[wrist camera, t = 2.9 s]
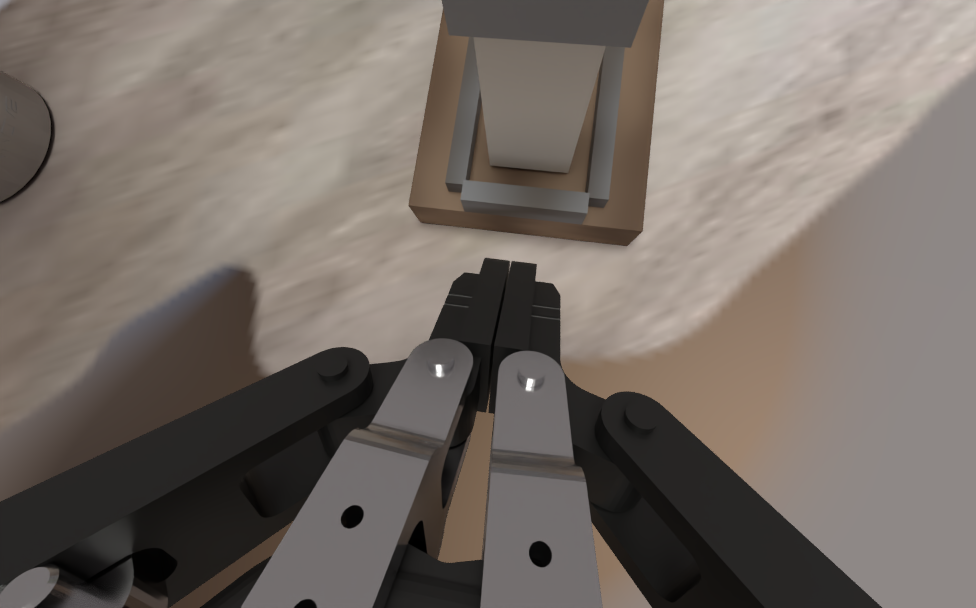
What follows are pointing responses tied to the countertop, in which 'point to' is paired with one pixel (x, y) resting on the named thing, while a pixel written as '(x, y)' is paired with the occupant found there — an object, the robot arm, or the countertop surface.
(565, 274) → the countertop surface
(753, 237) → the countertop surface
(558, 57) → the fader tab
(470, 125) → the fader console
